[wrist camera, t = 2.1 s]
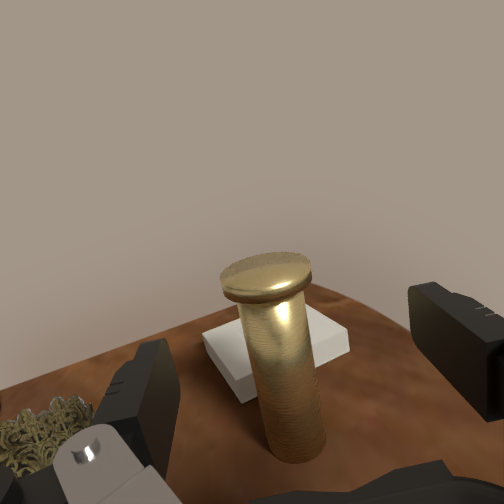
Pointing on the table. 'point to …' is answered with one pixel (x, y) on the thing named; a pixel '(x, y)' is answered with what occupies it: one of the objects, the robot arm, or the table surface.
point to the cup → (41, 434)
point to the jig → (237, 359)
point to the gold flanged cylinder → (280, 350)
